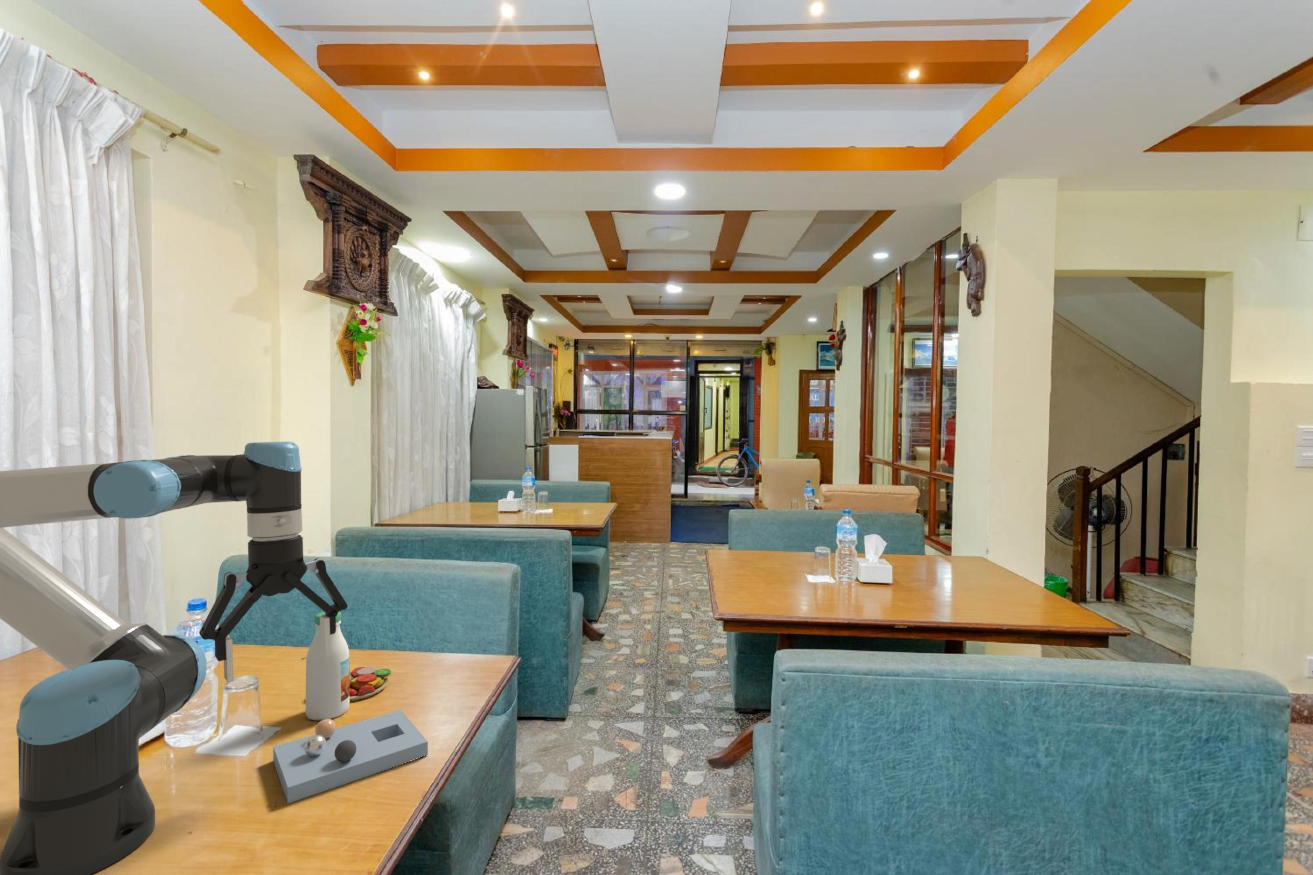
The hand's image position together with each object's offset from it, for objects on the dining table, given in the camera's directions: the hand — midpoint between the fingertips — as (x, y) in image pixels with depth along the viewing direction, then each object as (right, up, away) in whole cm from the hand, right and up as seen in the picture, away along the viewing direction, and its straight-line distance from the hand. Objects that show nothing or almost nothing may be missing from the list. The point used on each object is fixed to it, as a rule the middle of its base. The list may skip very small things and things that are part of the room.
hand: (279, 666), depth 97 cm
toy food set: (-4, -18, +33) cm, 38 cm away
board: (+9, -18, +6) cm, 21 cm away
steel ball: (+4, -14, +3) cm, 15 cm away
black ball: (+10, -14, +1) cm, 18 cm away
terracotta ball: (+3, -14, +8) cm, 16 cm away
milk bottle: (-5, -18, +22) cm, 29 cm away
